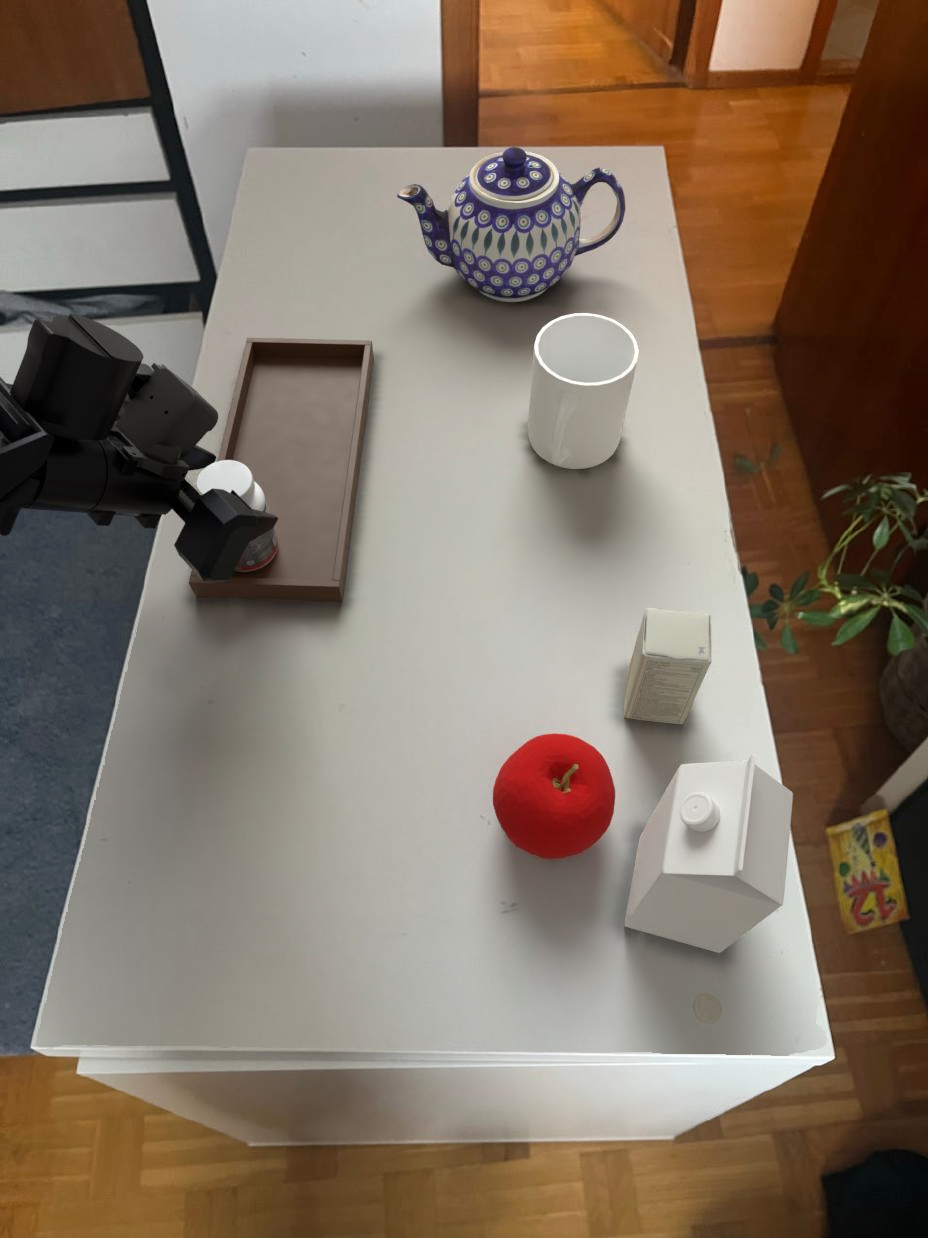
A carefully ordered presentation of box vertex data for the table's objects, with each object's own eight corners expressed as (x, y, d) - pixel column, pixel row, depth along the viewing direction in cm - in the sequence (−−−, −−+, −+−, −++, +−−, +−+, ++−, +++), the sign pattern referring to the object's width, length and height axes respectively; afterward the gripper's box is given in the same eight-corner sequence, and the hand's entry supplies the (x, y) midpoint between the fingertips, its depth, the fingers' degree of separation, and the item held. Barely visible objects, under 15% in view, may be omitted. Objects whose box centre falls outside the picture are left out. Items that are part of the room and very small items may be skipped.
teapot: (607, 230, 107) (626, 106, 94) (624, 312, 99) (648, 190, 87) (402, 236, 107) (393, 113, 94) (404, 320, 99) (394, 198, 86)
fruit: (580, 893, 66) (597, 855, 58) (472, 841, 68) (473, 797, 60) (624, 788, 70) (646, 738, 62) (521, 742, 72) (529, 687, 64)
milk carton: (731, 860, 67) (815, 769, 51) (719, 954, 64) (806, 888, 48) (639, 836, 68) (693, 738, 52) (623, 927, 65) (675, 853, 49)
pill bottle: (205, 558, 81) (174, 489, 73) (242, 516, 84) (217, 444, 76) (255, 584, 80) (230, 516, 71) (291, 540, 83) (271, 470, 74)
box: (684, 681, 75) (715, 613, 66) (683, 726, 73) (715, 663, 64) (622, 673, 76) (645, 605, 66) (620, 718, 74) (642, 654, 64)
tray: (342, 602, 80) (339, 586, 77) (195, 597, 80) (188, 582, 78) (373, 358, 96) (371, 340, 94) (251, 355, 96) (246, 337, 94)
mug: (619, 406, 92) (638, 316, 82) (619, 496, 86) (639, 410, 76) (529, 400, 92) (537, 309, 82) (522, 489, 86) (529, 402, 76)
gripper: (202, 450, 56) (355, 474, 70) (57, 305, 63) (221, 352, 77) (134, 587, 60) (292, 585, 74) (6, 436, 67) (170, 459, 81)
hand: (243, 490), depth 76 cm, fingers open, 9 cm apart
